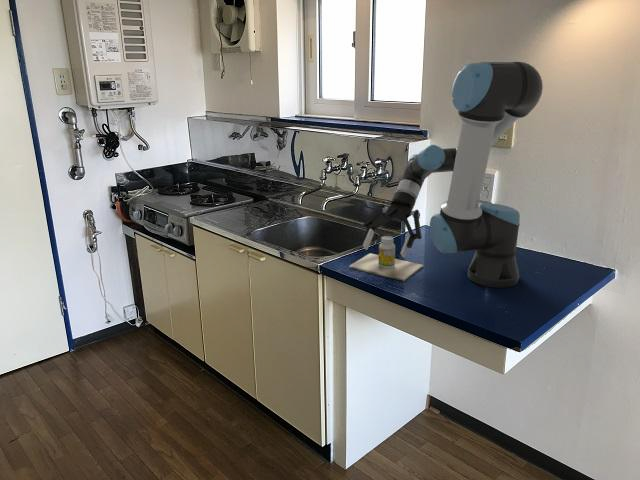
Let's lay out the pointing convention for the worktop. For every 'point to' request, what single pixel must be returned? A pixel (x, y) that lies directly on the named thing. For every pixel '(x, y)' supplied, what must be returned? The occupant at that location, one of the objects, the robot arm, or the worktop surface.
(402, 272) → the birch board
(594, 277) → the worktop surface
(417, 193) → the robot arm
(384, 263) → the supplement bottle
